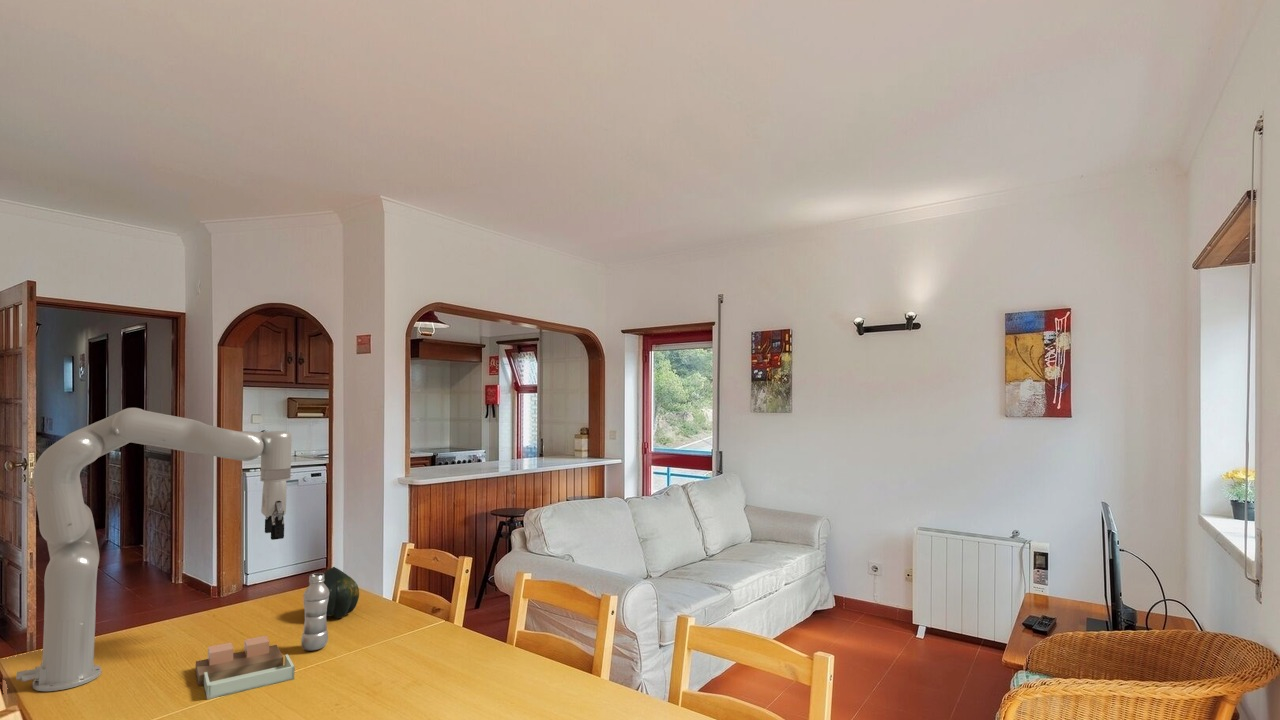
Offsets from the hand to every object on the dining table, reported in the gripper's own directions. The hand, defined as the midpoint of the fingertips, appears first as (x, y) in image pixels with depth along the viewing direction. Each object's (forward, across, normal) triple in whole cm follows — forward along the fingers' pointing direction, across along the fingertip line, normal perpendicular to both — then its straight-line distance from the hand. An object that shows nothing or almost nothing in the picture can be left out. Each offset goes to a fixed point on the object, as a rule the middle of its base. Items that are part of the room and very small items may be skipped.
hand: (274, 535), depth 187 cm
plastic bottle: (+30, +13, +8) cm, 33 cm away
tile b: (+27, +14, -6) cm, 31 cm away
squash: (+30, -12, +18) cm, 37 cm away
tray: (+29, +26, -9) cm, 40 cm away
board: (+29, +16, -10) cm, 35 cm away
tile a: (+27, +14, -14) cm, 33 cm away
